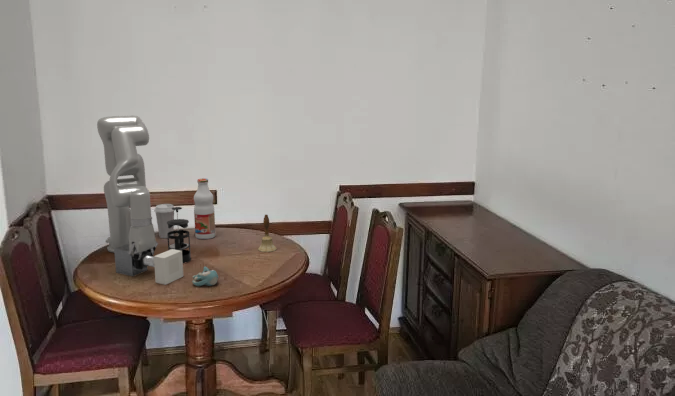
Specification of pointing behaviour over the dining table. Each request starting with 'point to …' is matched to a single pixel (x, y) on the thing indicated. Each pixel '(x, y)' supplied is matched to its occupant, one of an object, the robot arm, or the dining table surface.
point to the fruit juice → (204, 211)
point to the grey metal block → (126, 262)
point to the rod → (147, 259)
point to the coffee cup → (164, 219)
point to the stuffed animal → (206, 277)
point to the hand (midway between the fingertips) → (144, 266)
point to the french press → (179, 237)
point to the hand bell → (267, 238)
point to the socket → (168, 266)
